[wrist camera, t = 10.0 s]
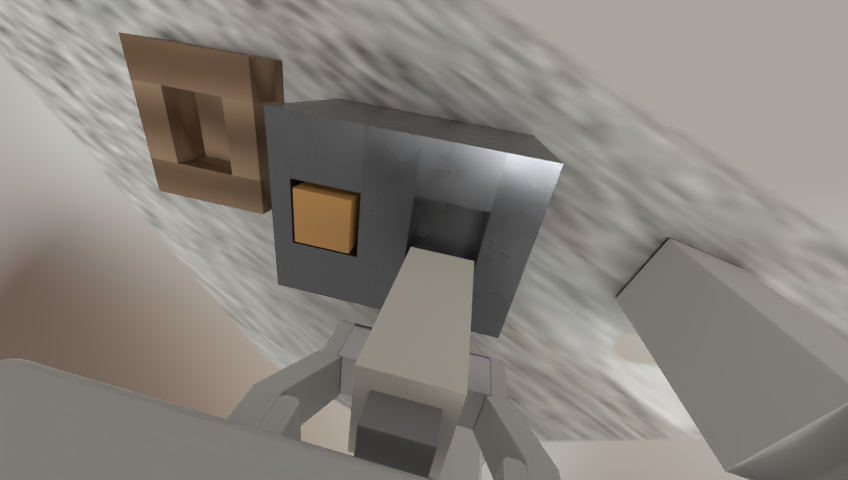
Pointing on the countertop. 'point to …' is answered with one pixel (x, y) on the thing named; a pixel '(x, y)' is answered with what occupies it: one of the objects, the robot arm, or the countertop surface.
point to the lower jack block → (205, 118)
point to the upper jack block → (408, 198)
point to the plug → (415, 366)
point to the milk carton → (744, 365)
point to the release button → (326, 216)
